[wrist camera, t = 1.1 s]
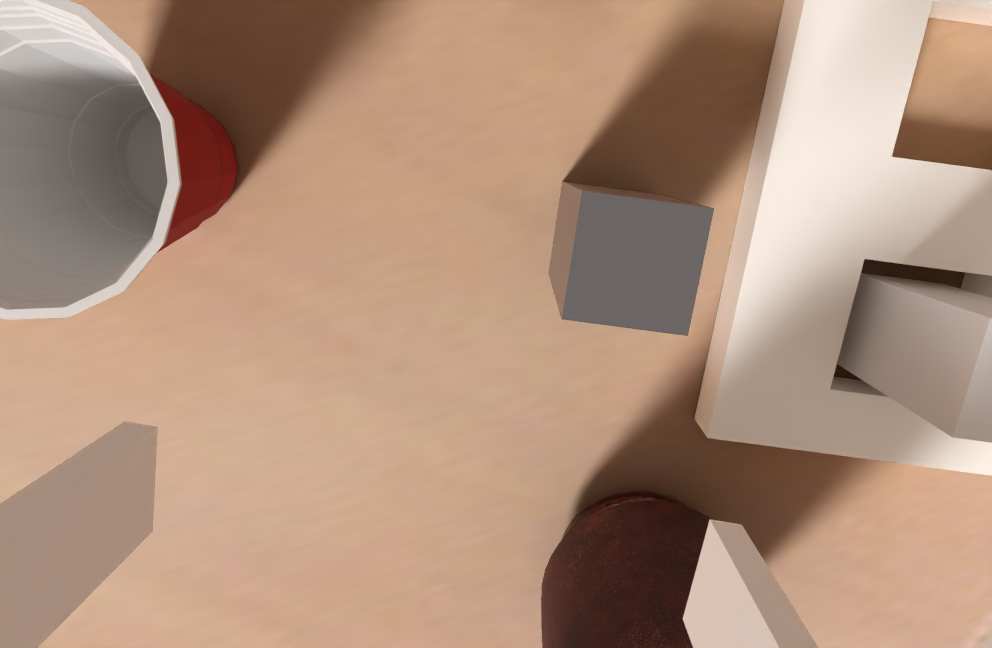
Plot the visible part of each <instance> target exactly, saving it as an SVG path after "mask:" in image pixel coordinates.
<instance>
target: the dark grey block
mask: <svg viewBox="0 0 992 648" xmlns="http://www.w3.org/2000/svg"><path fill="white" fill-rule="evenodd" d="M713 211H714V208H711V207H707V206H703V205H699V204H694V203H690V202H686V201H682V200H678V199H674V198H670V197H666V196H662V195H658V194H653V193H645V192H638V191H630V190H623V189H615V188H608V187H600V186H593V185H585V184H578V183H570V182H563V181H562V188H561V195H560V201H559V208H558V215H557V221H556V228H555V235H554V241H553V248H552V255H551V261H550V268H549V276H550V280H551V283H552V287H553V290H554V294H555V297H556V301H557V304H558V308H559V311H560V315H561V318H562V319H564V320H572V321H579V322H587V323H594V324H602V325H610V326H617V327H625V328H632V329H640V330H647V331H655V332H662V333H670V334H677V335H685V336H688V332H689V327H690V323H691V318H692V313H693V308H694V303H695V298H696V293H697V289H698V284H699V279H700V274H701V269H702V264H703V259H704V255H705V250H706V245H707V240H708V235H709V230H710V225H711V221H712V216H713Z"/></svg>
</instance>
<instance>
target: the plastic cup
mask: <svg viewBox="0 0 992 648" xmlns="http://www.w3.org/2000/svg"><path fill="white" fill-rule="evenodd" d="M237 173H238V169H237V161H236V153H235V148H234V146H233V144H232V142H231V140H230V138H229V136H228V135H227V133H226V131H225V129H224V127H223V126H222V125H221V124H220V123H219V122H218V121H217V120H216V119H215V118H214V117H213V116H211V115H210V114H209V113H208V112H207V111H206V110H205V109H204V108H202V107H201V106H200V105H198V104H196V103H194V102H192V101H190V100H189V99H187V98H185V97H184V96H183V95H182V94H181V93H179V92H178V91H177V90H175V89H174V88H172V87H170V86H169V85H167V84H166V83H164V82H162V81H161V80H159V79H157V78H156V77H154V76H153V75H151V74H150V73H149V72H148V70H147V68H146V66H145V64H144V62H143V60H142V59H141V57H140V56H139V55H138V54H137V53H136V52H135V51H134V50H133V49H132V48H131V47H129V46H128V45H127V44H126V43H125V42H124V41H123V40H122V39H120V38H119V37H118V36H117V35H116V34H115V33H114V32H113V31H112V30H110V29H109V28H108V27H107V26H106V25H105V24H104V23H103V22H101V21H100V20H99V19H98V18H97V17H96V16H95V15H94V14H93V13H91V12H90V11H89V10H88V9H87V8H86V7H85V6H82V5H80V4H77V3H74V2H72V1H69V0H0V318H3V319H6V320H14V319H39V318H63V317H71V316H73V315H75V314H77V313H79V312H81V311H83V310H86V309H88V308H90V307H92V306H94V305H96V304H98V303H100V302H102V301H104V300H106V299H109V298H111V297H113V296H115V295H117V294H119V293H121V292H123V291H125V290H126V289H127V288H128V287H129V285H130V284H131V283H132V282H133V281H134V279H135V278H136V277H137V276H138V275H139V273H140V272H141V271H142V270H143V269H144V267H145V266H146V265H147V264H148V263H149V261H150V260H151V259H152V258H153V257H154V256H155V254H156V253H157V252H159V251H160V250H162V249H164V248H165V247H167V246H168V245H170V244H172V243H173V242H175V241H177V240H178V239H180V238H181V237H183V236H185V235H186V234H188V233H189V232H191V231H193V230H194V229H196V228H197V227H198V226H199V225H200V224H201V223H202V222H203V221H205V220H206V219H208V218H210V217H211V216H213V215H215V214H216V213H217V212H218V211H219V209H220V208H221V207H222V206H223V204H224V203H225V202H226V201H227V199H228V198H229V197H230V195H231V194H232V192H233V188H234V184H235V180H236V177H237Z"/></svg>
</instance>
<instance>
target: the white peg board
mask: <svg viewBox="0 0 992 648" xmlns="http://www.w3.org/2000/svg"><path fill="white" fill-rule="evenodd" d="M928 18H936V19H943V20H951V21H958V22H966V23H973V24H981V25H988V26H992V0H784V5H783V9H782V14H781V19H780V23H779V28H778V33H777V37H776V42H775V47H774V51H773V56H772V60H771V65H770V70H769V74H768V79H767V84H766V88H765V93H764V98H763V102H762V107H761V112H760V116H759V121H758V125H757V130H756V135H755V139H754V144H753V149H752V153H751V158H750V163H749V167H748V172H747V176H746V181H745V186H744V190H743V195H742V200H741V204H740V209H739V214H738V218H737V223H736V228H735V232H734V237H733V241H732V246H731V251H730V255H729V260H728V265H727V269H726V274H725V279H724V283H723V288H722V293H721V297H720V302H719V306H718V311H717V316H716V320H715V325H714V330H713V334H712V339H711V344H710V348H709V353H708V358H707V362H706V367H705V371H704V376H703V381H702V385H701V390H700V395H699V399H698V404H697V409H696V413H695V418H694V419H695V421H696V422H697V424H698V425H699V426H700V428H701V429H702V431H703V432H704V434H705V435H706V437H707V438H712V439H719V440H727V441H734V442H742V443H749V444H757V445H765V446H772V447H780V448H787V449H795V450H803V451H810V452H818V453H825V454H833V455H840V456H848V457H856V458H863V459H871V460H878V461H886V462H893V463H901V464H909V465H916V466H924V467H931V468H939V469H946V470H954V471H962V472H969V473H977V474H984V475H992V170H987V169H980V168H972V167H965V166H957V165H950V164H942V163H935V162H927V161H920V160H913V159H905V158H898V157H892V154H893V150H894V146H895V142H896V139H897V135H898V131H899V127H900V124H901V120H902V116H903V112H904V108H905V105H906V101H907V97H908V93H909V90H910V86H911V82H912V78H913V75H914V71H915V67H916V63H917V59H918V56H919V52H920V48H921V44H922V41H923V37H924V33H925V29H926V26H927V22H928ZM864 259H869V260H876V261H884V262H891V263H899V264H907V265H914V266H922V267H929V268H937V269H944V270H952V271H959V272H965V275H964V279H963V282H962V285H961V288H960V289H959V288H956V287H952V286H949V285H945V284H941V283H933V282H925V281H918V280H910V279H903V278H895V277H888V276H880V275H873V274H865V273H861V271H862V267H863V263H864ZM837 364H838V365H839V366H841V367H843V368H844V369H846V370H847V371H849V372H850V373H852V374H854V375H855V376H857V377H858V378H860V379H861V380H855V379H847V378H840V377H833V376H834V372H835V369H836V365H837ZM862 380H863V381H862Z"/></svg>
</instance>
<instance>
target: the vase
mask: <svg viewBox="0 0 992 648" xmlns="http://www.w3.org/2000/svg"><path fill="white" fill-rule="evenodd" d="M710 519H711V518H709V517H708V516H706V515H704V514H702V513H700V512H698V511H696V510H694V509H691V508H689V507H688V506H686V505H685V504H683V503H681V502H679V501H678V500H676V499H674V498H671V497H668V496H665V495H662V494H657V493H651V492H627V493H621V494H617V495H613V496H609V497H607V498H605V499H602V500H600V501H598V502H596V503H594V504H593V505H591V506H589V507H588V508H586V509H585V510H584V511H583V512H582V513H580V514H579V515H578V516H577V517H576V518H575V519H574V521H573V522H572V523H571V524H570V525H569V527H568V529H567V530H566V532H565V533H564V535H563V537H562V540H561V542H560V543H559V545H558V546H557V548H556V549H555V551H554V552H553V554H552V555H551V557H550V560H549V562H548V565H547V567H546V569H545V573H544V578H543V582H542V596H541V615H542V644H543V648H693V646H692V643H691V640H690V638H689V635H688V632H687V629H686V627H685V624H684V621H683V616H684V612H685V609H686V605H687V601H688V598H689V594H690V590H691V586H692V583H693V579H694V575H695V572H696V568H697V564H698V561H699V557H700V553H701V550H702V546H703V542H704V538H705V535H706V531H707V527H708V524H709V520H710Z"/></svg>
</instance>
